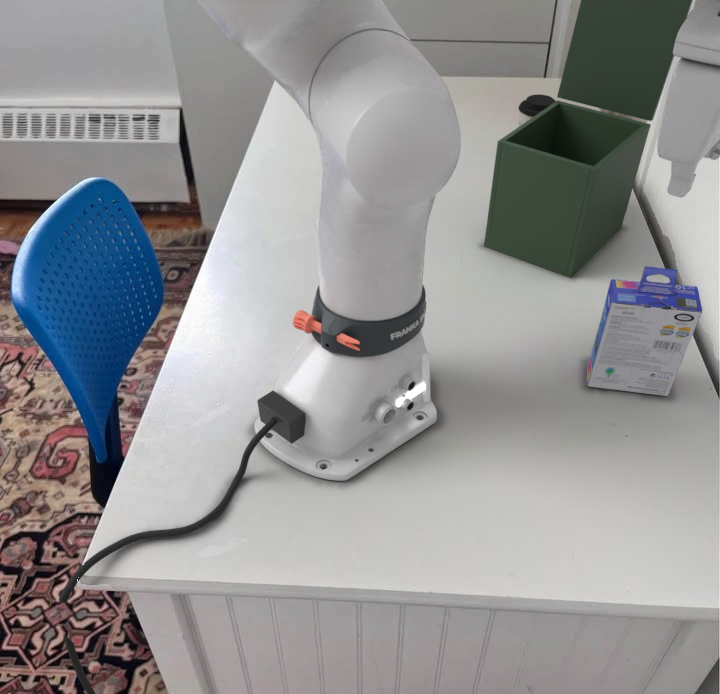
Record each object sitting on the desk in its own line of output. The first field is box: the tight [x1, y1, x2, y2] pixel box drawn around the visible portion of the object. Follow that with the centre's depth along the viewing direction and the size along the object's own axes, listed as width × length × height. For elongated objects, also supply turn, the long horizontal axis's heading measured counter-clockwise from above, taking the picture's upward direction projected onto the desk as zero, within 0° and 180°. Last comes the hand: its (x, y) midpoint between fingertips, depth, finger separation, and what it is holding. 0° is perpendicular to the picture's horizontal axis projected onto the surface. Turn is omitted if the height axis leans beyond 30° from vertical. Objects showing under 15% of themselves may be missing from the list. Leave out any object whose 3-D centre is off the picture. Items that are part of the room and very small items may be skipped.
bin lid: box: [556, 0, 693, 122], centre depth 98 cm, size 18×15×1 cm
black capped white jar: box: [517, 94, 557, 127], centre depth 126 cm, size 7×7×10 cm
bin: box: [483, 100, 652, 278], centre depth 106 cm, size 18×15×16 cm
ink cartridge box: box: [586, 265, 703, 397], centre depth 83 cm, size 10×6×14 cm, turn 79°
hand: (695, 174), depth 70 cm, fingers open, 8 cm apart
